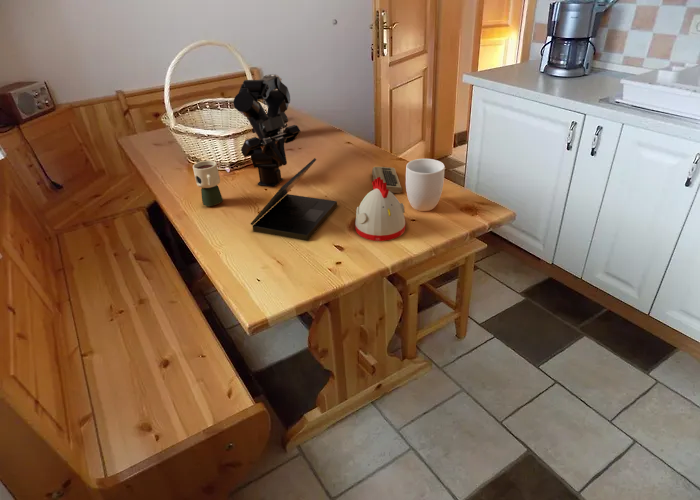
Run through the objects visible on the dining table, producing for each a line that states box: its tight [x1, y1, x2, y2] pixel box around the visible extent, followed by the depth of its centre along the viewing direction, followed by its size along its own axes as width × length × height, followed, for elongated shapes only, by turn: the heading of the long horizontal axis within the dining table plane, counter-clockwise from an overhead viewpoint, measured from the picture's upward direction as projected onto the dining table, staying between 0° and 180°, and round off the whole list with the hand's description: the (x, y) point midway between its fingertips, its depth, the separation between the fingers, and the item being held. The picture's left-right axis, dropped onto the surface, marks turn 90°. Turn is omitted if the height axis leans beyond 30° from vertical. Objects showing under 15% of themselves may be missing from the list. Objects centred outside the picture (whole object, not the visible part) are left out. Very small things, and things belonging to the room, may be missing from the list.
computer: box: [371, 166, 403, 194], centre depth 155 cm, size 16×8×3 cm, turn 3°
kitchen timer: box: [354, 177, 406, 242], centre depth 128 cm, size 14×14×15 cm
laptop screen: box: [250, 157, 317, 226], centre depth 135 cm, size 17×21×1 cm
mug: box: [405, 158, 446, 212], centre depth 140 cm, size 15×11×13 cm
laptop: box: [251, 193, 338, 242], centre depth 138 cm, size 17×21×2 cm
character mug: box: [192, 159, 224, 207], centre depth 145 cm, size 11×7×13 cm, turn 25°
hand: (285, 164), depth 141 cm, fingers closed
